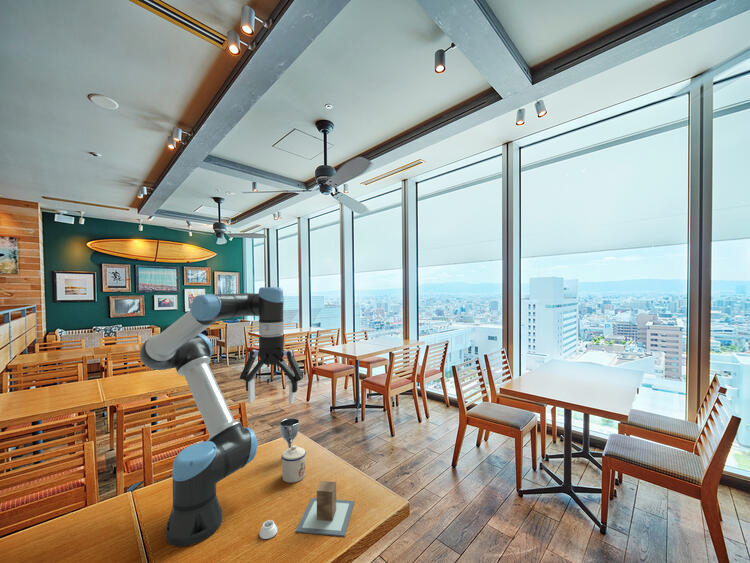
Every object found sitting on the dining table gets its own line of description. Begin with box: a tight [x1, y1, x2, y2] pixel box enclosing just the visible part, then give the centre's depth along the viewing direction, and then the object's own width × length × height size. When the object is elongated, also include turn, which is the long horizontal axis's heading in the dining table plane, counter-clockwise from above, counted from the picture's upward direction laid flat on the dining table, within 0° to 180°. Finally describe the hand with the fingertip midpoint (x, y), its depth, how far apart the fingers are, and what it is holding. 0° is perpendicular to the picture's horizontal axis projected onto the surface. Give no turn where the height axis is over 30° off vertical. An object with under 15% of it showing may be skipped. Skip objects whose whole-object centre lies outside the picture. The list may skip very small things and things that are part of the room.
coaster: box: [295, 497, 355, 537], centre depth 101 cm, size 15×15×1 cm
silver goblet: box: [279, 417, 300, 460], centre depth 137 cm, size 8×8×15 cm
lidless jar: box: [259, 519, 278, 540], centre depth 94 cm, size 5×3×5 cm
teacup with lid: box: [281, 444, 306, 484], centre depth 124 cm, size 12×9×12 cm
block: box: [316, 480, 337, 521], centre depth 101 cm, size 5×5×9 cm
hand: (271, 401), depth 101 cm, fingers open, 13 cm apart
